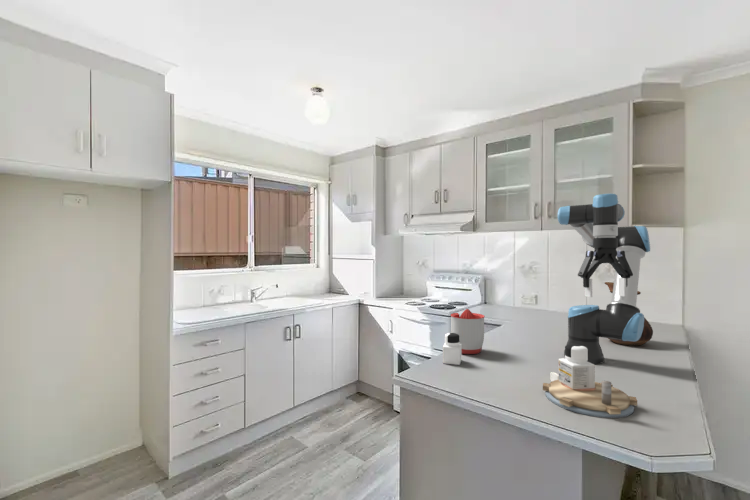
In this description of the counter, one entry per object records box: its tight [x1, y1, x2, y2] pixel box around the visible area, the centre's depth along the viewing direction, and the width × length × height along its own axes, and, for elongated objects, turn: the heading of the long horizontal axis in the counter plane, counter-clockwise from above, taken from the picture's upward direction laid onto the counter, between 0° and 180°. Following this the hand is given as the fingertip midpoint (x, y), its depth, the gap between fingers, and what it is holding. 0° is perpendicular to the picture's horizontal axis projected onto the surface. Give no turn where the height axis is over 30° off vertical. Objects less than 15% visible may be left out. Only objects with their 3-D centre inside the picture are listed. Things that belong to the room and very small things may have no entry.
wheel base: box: [545, 371, 635, 419], centre depth 116 cm, size 29×24×3 cm
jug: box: [604, 281, 654, 346], centre depth 184 cm, size 22×22×30 cm
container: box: [558, 344, 596, 389], centre depth 119 cm, size 8×8×13 cm
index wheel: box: [542, 380, 638, 414], centre depth 114 cm, size 25×24×8 cm
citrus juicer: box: [450, 308, 485, 355], centre depth 170 cm, size 16×17×20 cm
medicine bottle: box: [442, 332, 463, 366], centre depth 153 cm, size 7×7×12 cm
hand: (605, 296), depth 129 cm, fingers open, 13 cm apart
